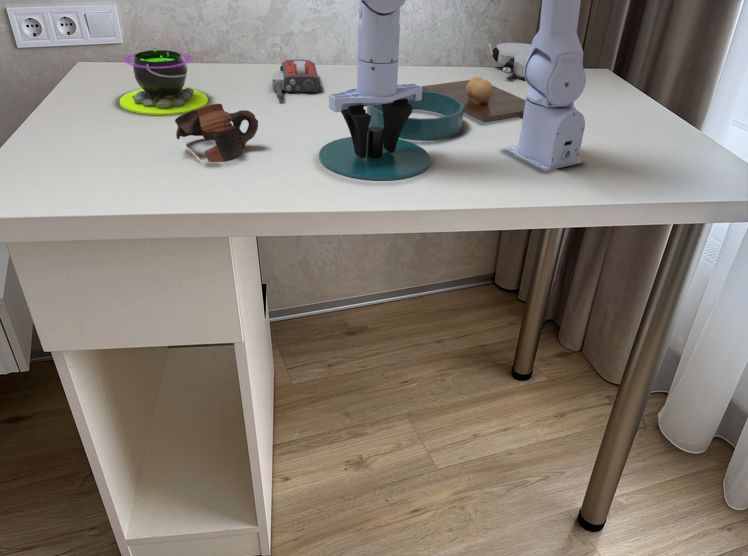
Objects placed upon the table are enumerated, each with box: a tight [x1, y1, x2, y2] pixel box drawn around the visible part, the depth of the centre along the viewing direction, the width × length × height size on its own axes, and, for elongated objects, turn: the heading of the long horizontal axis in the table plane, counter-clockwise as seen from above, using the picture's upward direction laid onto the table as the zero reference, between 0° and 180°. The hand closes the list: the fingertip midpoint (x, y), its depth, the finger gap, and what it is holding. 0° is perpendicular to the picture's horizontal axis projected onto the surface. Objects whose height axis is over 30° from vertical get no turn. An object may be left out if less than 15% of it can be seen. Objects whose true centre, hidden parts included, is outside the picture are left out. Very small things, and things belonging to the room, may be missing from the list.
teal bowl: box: [366, 90, 464, 141], centre depth 118 cm, size 16×16×4 cm
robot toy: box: [488, 42, 532, 79], centre depth 150 cm, size 12×4×15 cm
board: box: [420, 79, 526, 123], centre depth 132 cm, size 20×14×1 cm
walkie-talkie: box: [271, 58, 320, 101], centre depth 132 cm, size 9×4×20 cm
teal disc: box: [318, 126, 431, 181], centre depth 104 cm, size 17×17×5 cm
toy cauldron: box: [119, 31, 209, 116], centre depth 120 cm, size 15×15×11 cm
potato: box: [466, 76, 493, 104], centre depth 128 cm, size 6×4×4 cm
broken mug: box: [174, 103, 259, 163], centre depth 104 cm, size 12×10×8 cm
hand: (374, 153), depth 105 cm, fingers open, 4 cm apart
